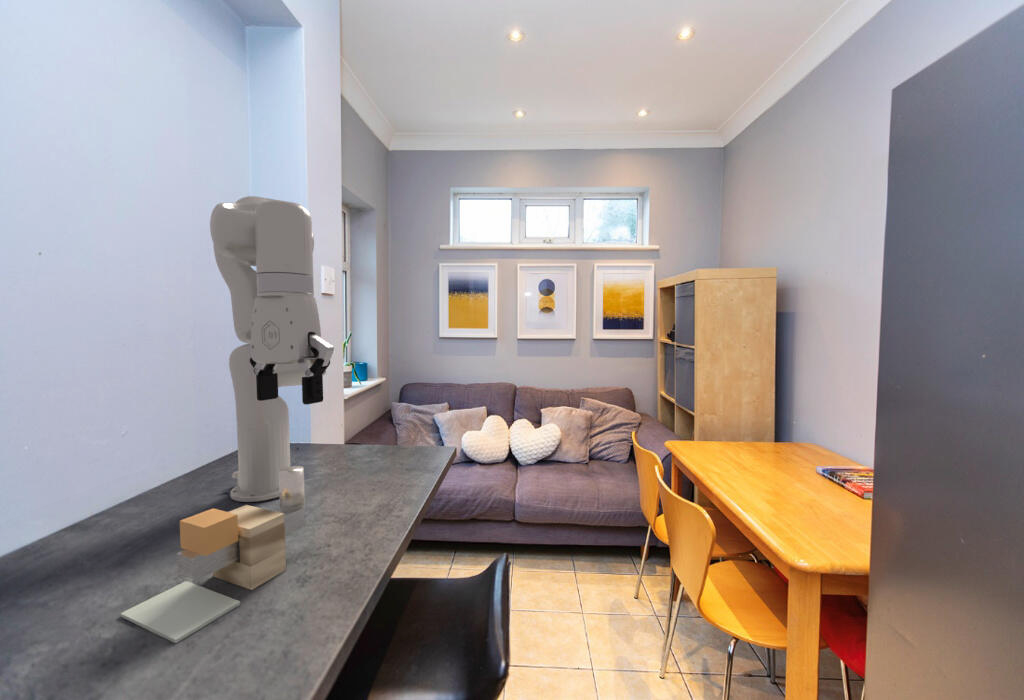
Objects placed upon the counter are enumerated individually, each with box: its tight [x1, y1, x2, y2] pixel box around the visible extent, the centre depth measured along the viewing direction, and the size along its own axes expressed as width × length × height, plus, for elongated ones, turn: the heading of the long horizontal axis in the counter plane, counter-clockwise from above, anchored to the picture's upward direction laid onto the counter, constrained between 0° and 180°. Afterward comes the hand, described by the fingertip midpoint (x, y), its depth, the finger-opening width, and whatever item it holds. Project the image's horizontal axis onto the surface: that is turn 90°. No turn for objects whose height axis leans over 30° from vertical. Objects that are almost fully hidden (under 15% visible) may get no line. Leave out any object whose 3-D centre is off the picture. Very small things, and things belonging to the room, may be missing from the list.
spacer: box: [179, 508, 238, 556], centre depth 54 cm, size 5×4×4 cm
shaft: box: [176, 465, 307, 584], centre depth 58 cm, size 3×17×9 cm, turn 156°
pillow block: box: [212, 504, 287, 591], centre depth 58 cm, size 8×5×8 cm, turn 66°
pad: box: [120, 580, 241, 644], centre depth 51 cm, size 11×7×1 cm, turn 66°
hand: (289, 401), depth 64 cm, fingers open, 9 cm apart
